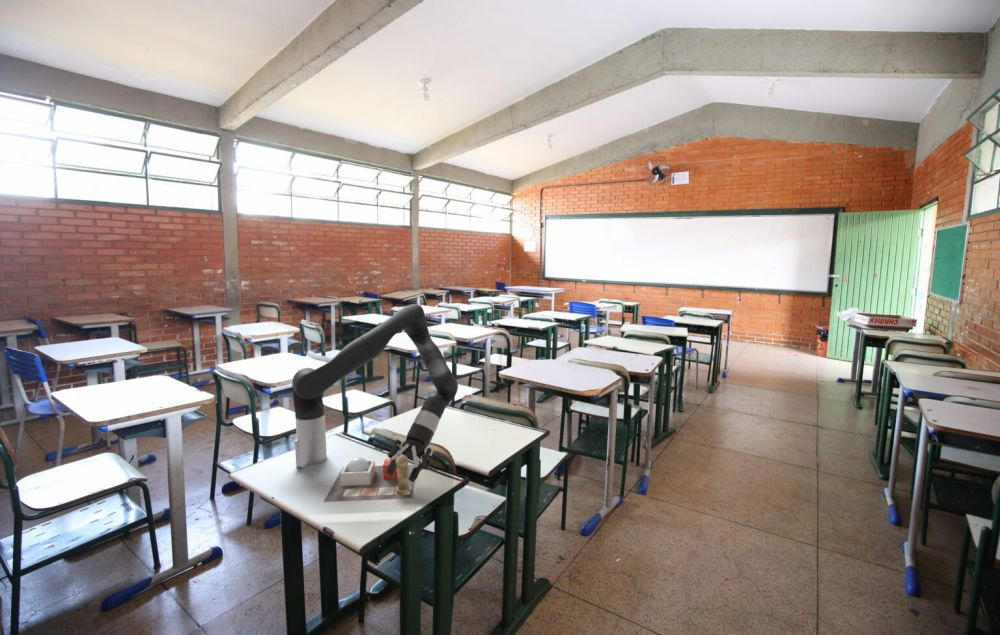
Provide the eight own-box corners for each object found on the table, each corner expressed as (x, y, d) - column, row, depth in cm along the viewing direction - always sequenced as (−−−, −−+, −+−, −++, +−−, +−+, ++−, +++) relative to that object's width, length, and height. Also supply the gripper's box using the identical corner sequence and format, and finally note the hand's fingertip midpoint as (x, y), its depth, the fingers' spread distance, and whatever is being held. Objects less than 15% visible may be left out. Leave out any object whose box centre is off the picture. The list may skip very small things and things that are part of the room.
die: (383, 478, 148) (382, 465, 148) (385, 472, 153) (385, 458, 152) (397, 477, 149) (397, 464, 148) (399, 471, 153) (398, 458, 152)
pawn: (394, 494, 138) (393, 458, 137) (397, 487, 142) (395, 452, 141) (409, 493, 139) (408, 458, 137) (410, 486, 143) (409, 452, 141)
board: (323, 506, 135) (323, 501, 134) (343, 471, 156) (342, 466, 156) (411, 502, 137) (411, 497, 136) (418, 468, 158) (418, 464, 158)
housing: (341, 485, 144) (340, 473, 143) (347, 472, 152) (347, 460, 152) (370, 484, 144) (369, 472, 144) (375, 471, 153) (375, 459, 152)
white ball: (345, 482, 145) (344, 463, 144) (350, 472, 151) (349, 454, 150) (366, 481, 145) (366, 462, 144) (370, 472, 152) (370, 453, 151)
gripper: (447, 437, 146) (424, 488, 138) (412, 429, 153) (388, 476, 145) (436, 426, 141) (411, 478, 133) (400, 418, 148) (375, 467, 140)
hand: (399, 477), depth 139 cm, fingers open, 8 cm apart
